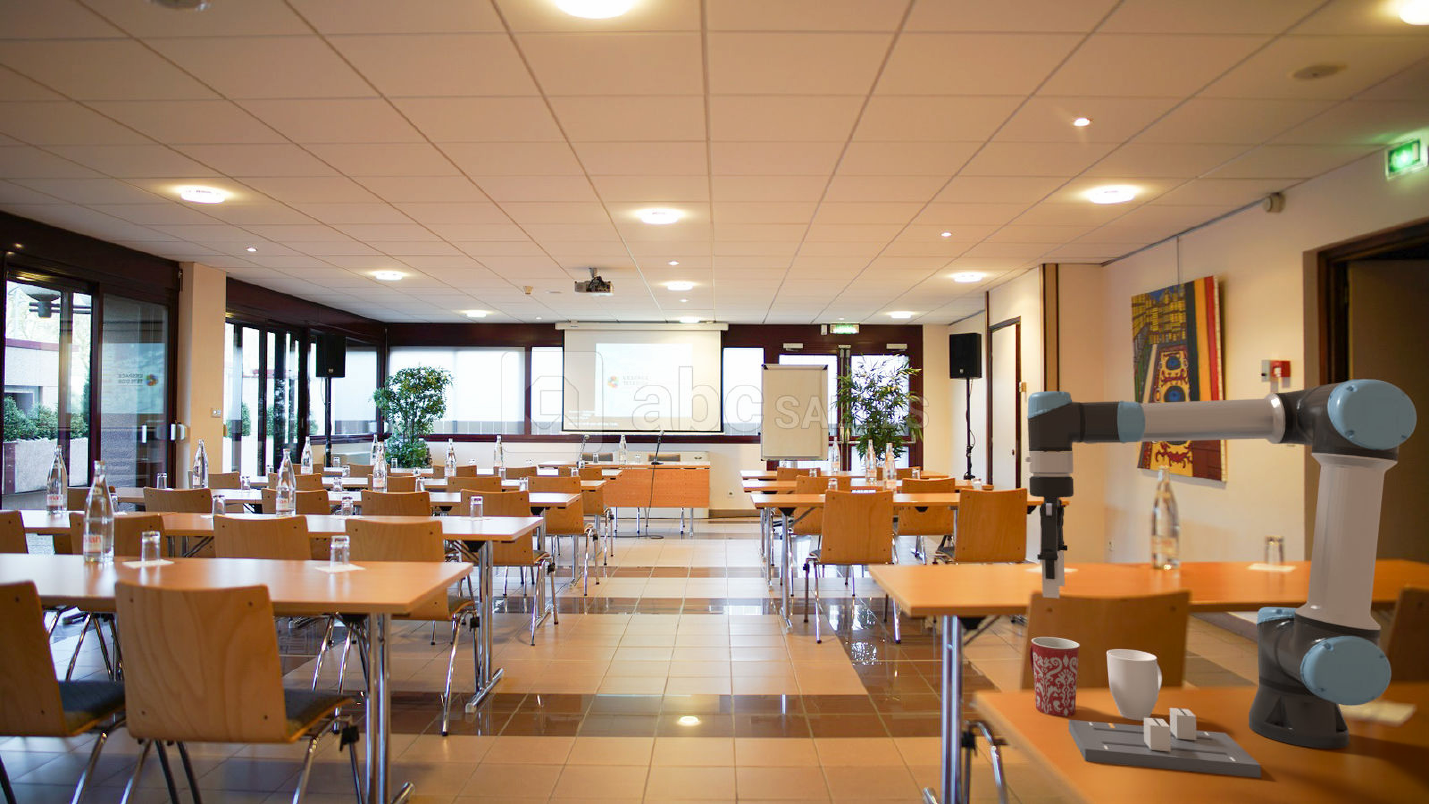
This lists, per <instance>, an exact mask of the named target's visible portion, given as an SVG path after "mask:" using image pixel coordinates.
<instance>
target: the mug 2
mask: <svg viewBox="0 0 1429 804" xmlns="http://www.w3.org/2000/svg"><path fill="white" fill-rule="evenodd" d="M1106 662H1107V664H1106V665H1107V674H1108V684H1109V686H1108V687H1109V691H1110V693H1111V696H1112V699H1113V701H1114V703H1115V705H1116V707H1117V710H1118V712H1119V715H1120V716H1121V717H1123V718H1125V719H1129V720H1131V721H1132V720H1133V721H1144V718H1151V715H1152V713H1153V710H1154V708H1155V705H1156V704H1157V701H1158V699H1159V693H1160V690H1161V688H1162V682H1163V681H1162V680H1163V676H1162V670H1161V668H1160V666H1159V664H1158V657H1157V656H1156V655H1154V654H1153V653H1152V654H1151V653H1149V652H1145V651H1141V650H1136V649H1128V648H1127V649H1124V648H1123V649H1122V648H1119V649H1118V648H1115V649H1108V650H1107V651H1106Z"/></svg>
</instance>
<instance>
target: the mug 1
mask: <svg viewBox="0 0 1429 804" xmlns="http://www.w3.org/2000/svg"><path fill="white" fill-rule="evenodd" d="M1080 648H1081V644H1080V643H1078V642H1076V641H1073V640H1071V639H1067V638H1060V637H1053V636H1051V637H1050V636H1039V637H1035V638H1034V637H1033V638H1032V639H1031V645H1030V648H1029V662H1030V663H1029V664H1030V668H1031V671H1032V674H1033V677H1034V678H1033V679H1034V698H1035V699H1034V701H1035V707H1036V710H1038V712H1040V713H1044V714H1046V715H1051V716H1057V717H1069V716H1073V715H1075V713H1076V704H1077V703H1076V700H1077V682H1078V667H1079V666H1078V665H1079V650H1080Z"/></svg>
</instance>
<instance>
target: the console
mask: <svg viewBox="0 0 1429 804" xmlns="http://www.w3.org/2000/svg"><path fill="white" fill-rule="evenodd" d="M1068 732H1069V734H1070V736H1071V737H1072V739H1073V740H1074V742H1075V745H1076V747H1077V748H1078V750H1079V752H1080V753H1081V756H1082V757H1083V759H1084V761H1085V762H1089V763H1090V762H1091V763H1092V762H1093V763H1103V764H1113V765H1123V766H1133V767H1135V766H1136V767H1145V768H1154V769H1155V768H1156V769H1163V770H1166V769H1167V770H1173V771H1175V770H1176V771H1177V770H1178V771H1184V772H1185V771H1186V772H1187V771H1188V772H1196V773H1206V774H1207V773H1208V774H1217V775H1226V776H1227V775H1228V776H1237V777H1238V776H1239V777H1248V778H1258V779H1261V778H1262V770H1261V764H1260V763H1259V762H1258V761H1257V760H1256V759H1255V758H1254V757H1253V756H1251V755H1250V754H1249V753H1248V752H1247V751H1246V750H1245V749H1244V748H1243V747H1242V746H1241V745H1239V744H1238V743H1237V742H1236V741H1235V740H1234V739H1233V738H1232V737H1231V736H1229V734H1227V733H1226V732H1220V731H1218V732H1217V731H1216V732H1215V731H1205V730H1196V740H1189V739H1178V738H1176V737H1175V735H1174V734H1173V733H1172V732H1171V731H1170V751H1161V750H1151V749H1150V748H1149V747H1148V746H1147V744H1146V743H1145V742H1144V725H1137V724H1136V725H1134V724H1124V723H1113V722H1101V721H1100V722H1099V721H1088V720H1087V721H1086V720H1078V719H1076V720H1075V719H1068Z"/></svg>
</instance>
